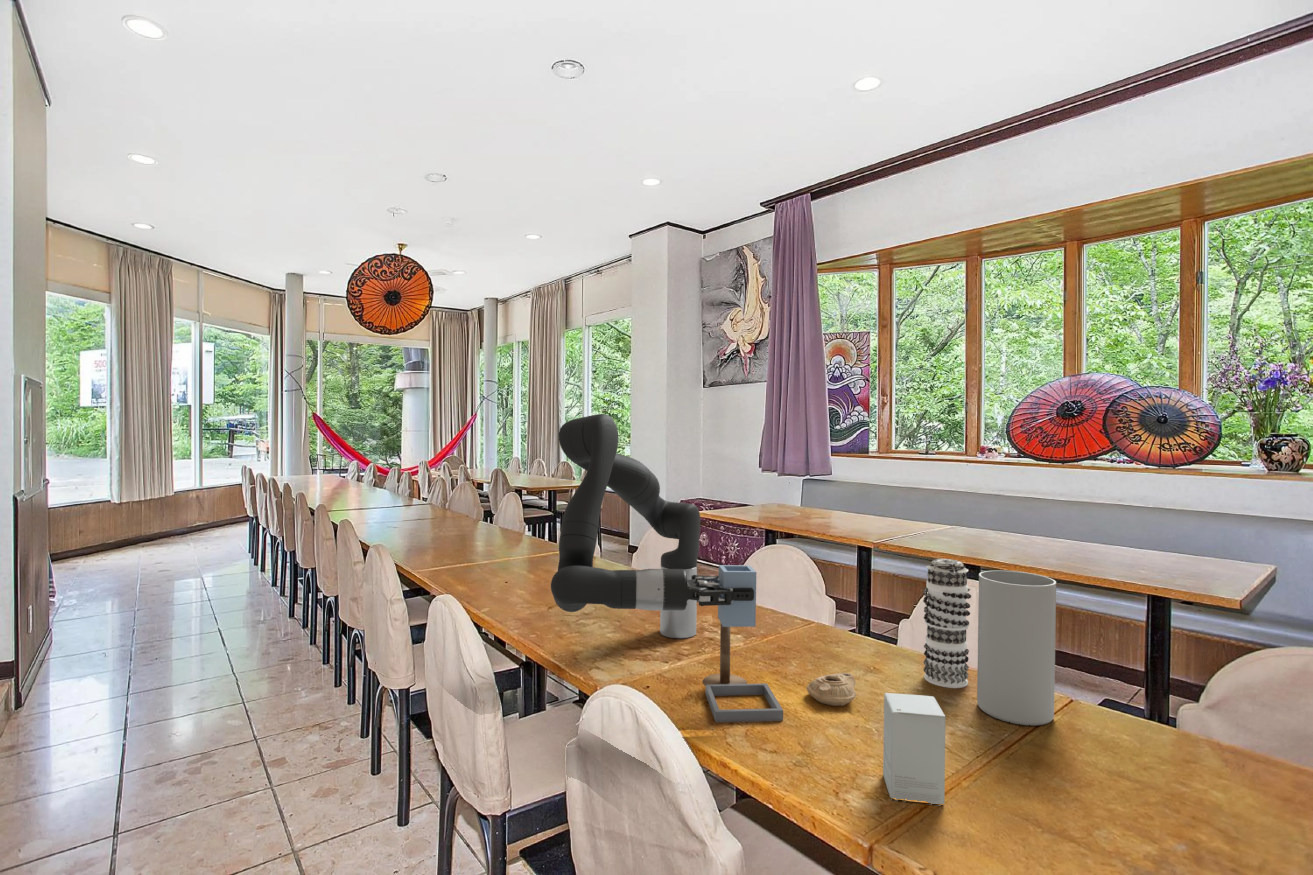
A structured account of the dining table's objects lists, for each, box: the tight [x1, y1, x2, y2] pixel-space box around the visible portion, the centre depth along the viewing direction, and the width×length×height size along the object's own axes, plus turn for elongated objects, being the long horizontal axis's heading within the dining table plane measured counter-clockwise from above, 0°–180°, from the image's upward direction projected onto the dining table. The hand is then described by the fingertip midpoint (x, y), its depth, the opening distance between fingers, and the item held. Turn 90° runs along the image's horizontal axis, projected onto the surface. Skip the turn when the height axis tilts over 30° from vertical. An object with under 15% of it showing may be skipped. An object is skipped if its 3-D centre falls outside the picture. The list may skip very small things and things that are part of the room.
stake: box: [702, 623, 748, 687], centre depth 131 cm, size 9×9×13 cm
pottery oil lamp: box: [806, 672, 857, 707], centre depth 124 cm, size 9×12×7 cm
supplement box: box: [882, 692, 946, 805], centre depth 94 cm, size 7×7×13 cm
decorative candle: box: [922, 558, 972, 689], centre depth 135 cm, size 9×9×25 cm
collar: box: [717, 564, 757, 628], centre depth 121 cm, size 6×6×10 cm
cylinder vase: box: [976, 570, 1057, 727], centre depth 120 cm, size 12×12×25 cm
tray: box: [704, 683, 784, 723], centre depth 119 cm, size 12×12×3 cm
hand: (749, 589), depth 121 cm, fingers closed on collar, 6 cm apart
